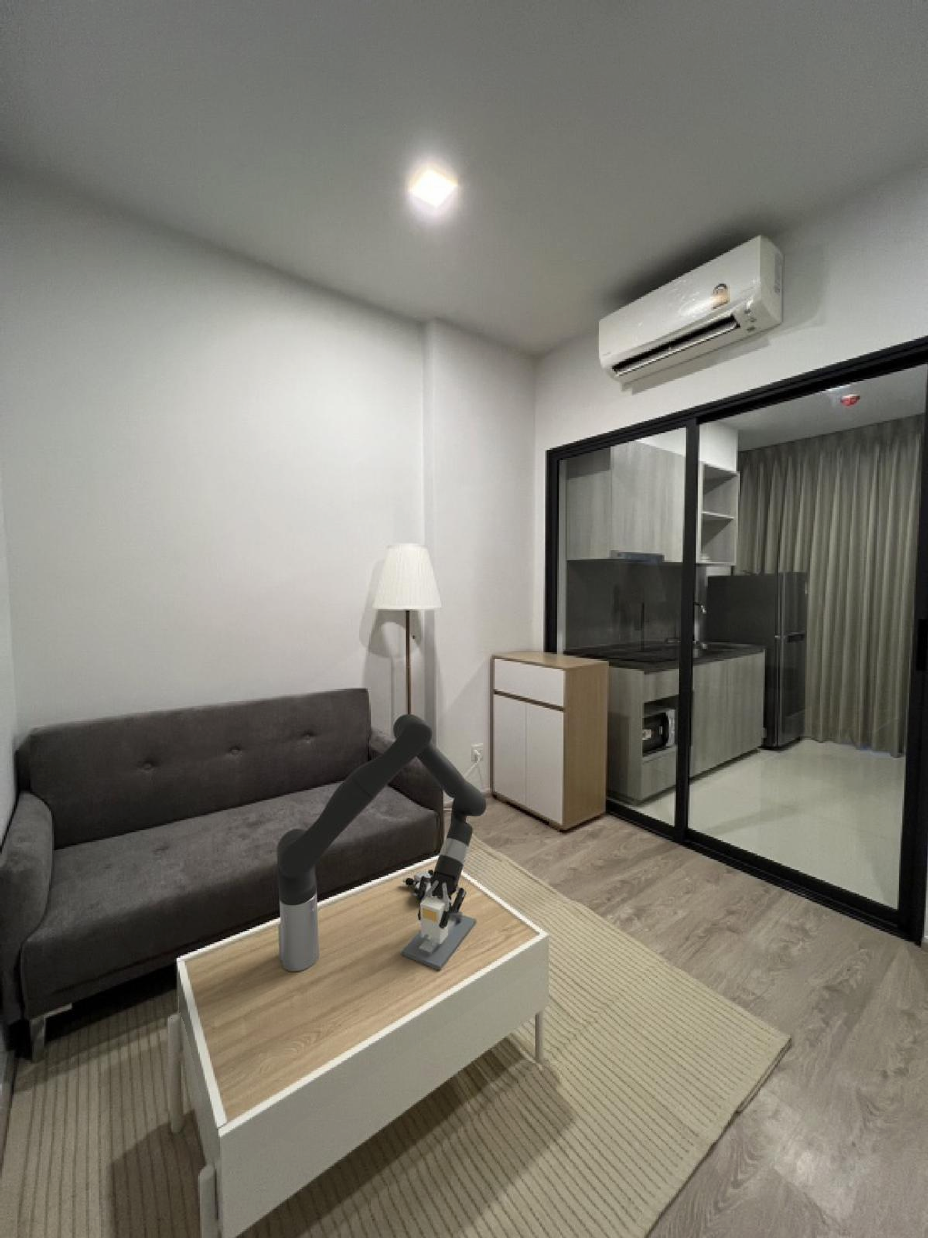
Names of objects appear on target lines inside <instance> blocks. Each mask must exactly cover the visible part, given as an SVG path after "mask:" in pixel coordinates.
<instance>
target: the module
mask: <svg viewBox="0 0 928 1238" xmlns="http://www.w3.org/2000/svg"><path fill="white" fill-rule="evenodd" d="M445 904H446V902H444V900H443V899H442V898H439V897H438V898H435V897H432V896H430V897H426V898H425V899H424V900H423V901H422V902H420V904H419V905H420V906H419V909H420V913H421V921H420V930H421V938H423V937H424V936H425V935H426V934H427V935H429V936H432V937H435V938H437V939H439V944H441V943H442V942H443V941H444V939H445V938H446V937H447V936H448V924H447V926H446V927H445V928H444V929H442V928H440V927H439V923H440V921H441V918H442V914H443V911H445Z"/></svg>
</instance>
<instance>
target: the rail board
mask: <svg viewBox="0 0 928 1238" xmlns="http://www.w3.org/2000/svg"><path fill="white" fill-rule="evenodd" d="M476 924H477V919H476V918H473V917H471V916H467V915H464V914H462V922H461V923H459V922H457V924H456V925H455V926H454V927H453V929H452V930H451V931H450V932H449V934H448V936H447V937H446V938H445V939H444V941H443V942H442V943H441V944H440V945H439V946H438V947H437V948H436V950H435V951H434V952H433V953H432V954H431V956H429V955H427V954H424V953H422V952H419V947H420V946H421V945H422V944H423V943H424V941H425V940H426V939H427V938H428V937H429V935H427V934H426V935H425V936H424V937H423V938H421V929H420V930H419V931H418V933H416V934H415V936H413V938H412V939H411V940H410V941H409V942H408V943H407V945H406V946H405V947H404V948H402V950H401V955H402V956H404V957H406V958H409V959H411V960H413V961H416V962H418V963H421V964H423V965H425V966H428V967H431V968H433V969H435V970H437V971H441V970H442V969H444V966H446V964H447V963H448V961H449V960H450V959H451V957H452V956H453V954H454V953H455V952H456V951H457V950H458V948H459V947H460V945H461V944H462V943H463V942H464V940H465V939H466V937H467V936H468V935H469V933H470V932H471V931H472V929H473V928H474V927H475V925H476Z"/></svg>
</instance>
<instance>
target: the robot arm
mask: <svg viewBox="0 0 928 1238" xmlns="http://www.w3.org/2000/svg"><path fill="white" fill-rule="evenodd" d="M392 732H393V736H394V739H395V740H394V742H393V743H391V745H389V747H387V749H386V750H385V751H384V752H382V753H381V754H380V755H378V756H376V757H375V758H373V759H371V760H370V761H369V760H368V761H367V762H365V763H364V764H362V765H360V766H359V767H357V768H356V769H354V770H353V771H352V772H351V773H350V774H349V775H348V776H347V777H346V778H345V779H344V780H343V781H342V782H341V784H340V785H339V786H337V788H336V789H335V791H334V792H333V794H332V795H331V797H330V798H329V800H328V802H327V803H326V805H325V807H324V809H323V810H322V812H321V813H320V814H319V816H318V818H316V820H315V821H314V822H313V824H312V825H311V826H310V827H308V829H306V830H305V829H302V828H296V829H295V828H293V829H291V830H289V831H287V832H286V833H284V835H282V836H281V838H280V840H279V841H278V844H277V848H276V856H277V857H276V858H277V859H276V862H277V884H278V895H279V915H280V916H279V917H280V922H279V924H278V929H277V932H278V934H277V935H278V955H279V961H281V963H282V967H283V968H284V969H285V971H289V972H300V971H304V970H307V969H309V968H310V967H311V966H313V965H314V964H315V963H316V962H317V960H318V959H319V956H320V944H319V943H320V942H319V919H318V918H319V917H318V916H319V915H318V912H319V911H318V892H317V889H318V888H317V877H316V868H315V865H316V864H317V863H318V862H319V860H320V859H321V858H322V856H323V855H324V854H325V853H326V851H327V850H328V849H329V848H330V846H331V845H332V844H333V842H335V840H336V839H337V838H338V837H339V836H340V835H341V834H342V833H343V832H344V830H346V828H347V827H349V825H351V824H352V822H353V821H354V820H355V819H356V818H357V817H358V816H359V815H360V814H361V813H362V812H363V811H364V810H365V809H366V808H367V807H368V806H369V805H370V803H371V802H372V801H373V800H374V799H376V797H377V796H378V794H380V792H381V791H383V789H384V788H385V787H386V786H388V784H389V783H390V782H391V781H392V780H393V779H394V778H395V777H396V776H397V775H398V774H399V773H400V772H401V771H402V770H403V769H404V768H405V767H406V766H407V765H408V764H410V763H411V762H412V761H413V760H414V759H415V758H416V759H418V760H419V761H420V763H421V764H422V765H423V767H424V768H425V769H426V770H427V772H428V773H429V774H430V775H431V776H432V778H433V780H434V781H435V782H436V783H437V785H438V786H439V787H440V789H442V791H443V792H444V793H445V794H446V796H448V797H449V798H451V799H453V800H452V803H451V812H450V813H451V814H450V822H449V823H450V824H449V828H448V831H447V834H446V837H445V839H444V842H443V843H442V846H441V848H440V852H439V855H438V857H437V860H436V864H435V866H434V869H433V872H434V874H433V876H432V877H431V878H426V877H425V876H422V877H421V880H420V885H419V889H418V893H417V897H416V899H417V900H418V901H419V902H420V903H421V902H422V901H423V900H424V899H425V898H426V897H430V896H432V897H438V898H440V899H442V900H444V902H446V904H445V911H443V914H442V918H441V921H440V923H439V927H440V928H442V929H444V928H445V927H446V926H447V924H448V920H449V917H450V914H451V913H458V912H460V909H461V906H462V905H463V902H464V900H465V897H466V895H467V890H466V889H465V888H463V887H460V886H459V881H460V878H461V875H462V872H463V868H464V866H465V863H466V859H467V856H468V850H469V846H470V843H471V840H472V836H473V832H474V829H473V828H474V827H473V826H472V825H471V824H470V823H468V822H467V817H474V818H475V817H480V816H482V815H484V813H485V812H486V811H487V800H486V798H485V796H484V794H483V792H481V790H480V789H478V787H476V786H474V785H473V784H472V783H470V781H468V780H467V779H465V777H464V776H463V775H462V774H461V772H460V771H459V770H458V768H456V766H455V765H454V764H453V763H452V762H451V761H450V760H449V759H448V758H447V756H445V755H444V754H443V752H441V751H440V750H439V748H438V747H437V746H436V745H435V743H433V741H432V737H433V731H432V727H431V726H430V724H429V723H428V722H426V720H424V719H422V718H421V717H419V715H415V714H412V713H405V714H402V715H400V716H399V717H398V718H397V719H396V720H395V722H394V724H393V728H392ZM429 883H430V885H431V888H430V889H429V890H428V891H427V892H426V889H427V886H428V885H429ZM425 893H426V895H425ZM454 893H455V894H456V896H455V899H454V901H453V894H454ZM417 920H418V921H420V922H421V913H420V908H419V909H418V912H417Z"/></svg>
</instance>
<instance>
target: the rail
mask: <svg viewBox="0 0 928 1238" xmlns="http://www.w3.org/2000/svg"><path fill="white" fill-rule="evenodd" d="M462 915H463V912H462V911H459V912H458V913H451V914H450V917H449V920H448V934H449V932H450V931H451V930H452V929H453V927H454V926H455V925H456V924H457V922H459V923H461V922H462ZM439 945H440V944H439V939H437V938H435V937H432V936H429V937H428V938H427V939H426V940H425V941H424V943H423V944H422V945H421V946H420V947H419V952H422V953H424V954H427V955H429V956H431V954H432V953H433V952H434V951H435V950H436V948H437V947H438V946H439Z"/></svg>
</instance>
